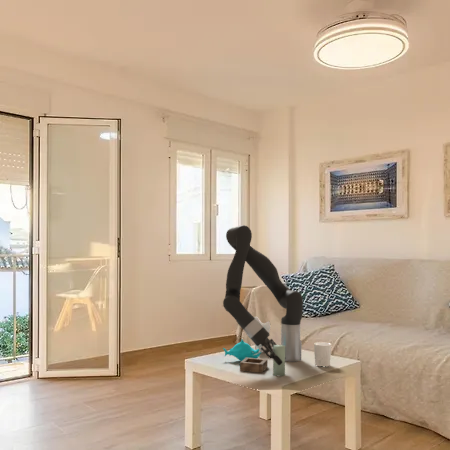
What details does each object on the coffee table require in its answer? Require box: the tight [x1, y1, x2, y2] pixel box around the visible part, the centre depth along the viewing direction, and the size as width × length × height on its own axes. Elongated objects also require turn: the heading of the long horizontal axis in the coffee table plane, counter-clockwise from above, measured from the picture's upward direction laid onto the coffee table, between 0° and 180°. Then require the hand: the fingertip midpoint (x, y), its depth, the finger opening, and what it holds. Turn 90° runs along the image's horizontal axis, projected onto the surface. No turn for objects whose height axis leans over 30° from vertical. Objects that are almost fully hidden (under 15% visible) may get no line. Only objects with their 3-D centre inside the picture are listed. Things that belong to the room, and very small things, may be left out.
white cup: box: [313, 341, 332, 367], centre depth 221 cm, size 8×8×10 cm
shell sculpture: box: [253, 316, 271, 354], centre depth 247 cm, size 8×8×18 cm
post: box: [272, 344, 286, 377], centre depth 204 cm, size 5×5×12 cm
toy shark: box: [222, 338, 262, 362], centre depth 227 cm, size 10×18×11 cm, turn 88°
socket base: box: [239, 357, 268, 373], centre depth 213 cm, size 10×10×4 cm
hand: (282, 361), depth 204 cm, fingers open, 7 cm apart
